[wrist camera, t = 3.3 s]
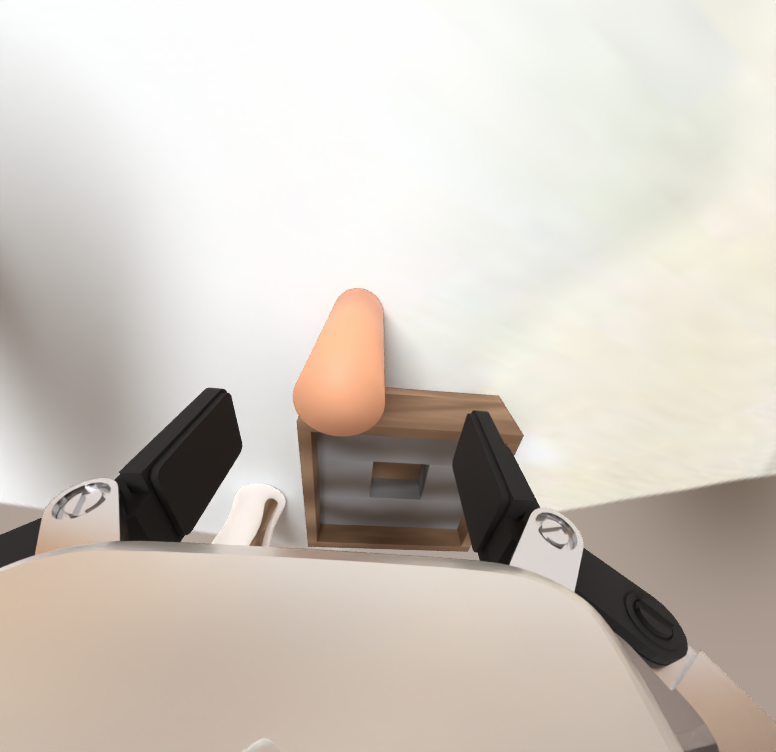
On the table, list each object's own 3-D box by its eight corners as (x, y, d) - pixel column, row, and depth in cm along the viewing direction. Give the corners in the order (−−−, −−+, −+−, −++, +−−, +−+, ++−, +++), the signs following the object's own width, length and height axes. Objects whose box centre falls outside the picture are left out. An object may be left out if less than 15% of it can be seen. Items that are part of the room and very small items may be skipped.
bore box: (312, 382, 26) (296, 421, 21) (499, 395, 27) (523, 435, 22) (318, 501, 35) (308, 546, 30) (456, 507, 36) (467, 551, 32)
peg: (333, 285, 21) (289, 358, 11) (385, 290, 21) (389, 366, 11) (333, 334, 23) (296, 433, 13) (381, 338, 23) (380, 438, 13)
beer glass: (274, 475, 32) (204, 651, 20) (298, 509, 36) (253, 677, 23) (220, 486, 33) (119, 661, 20) (250, 518, 37) (179, 685, 24)
